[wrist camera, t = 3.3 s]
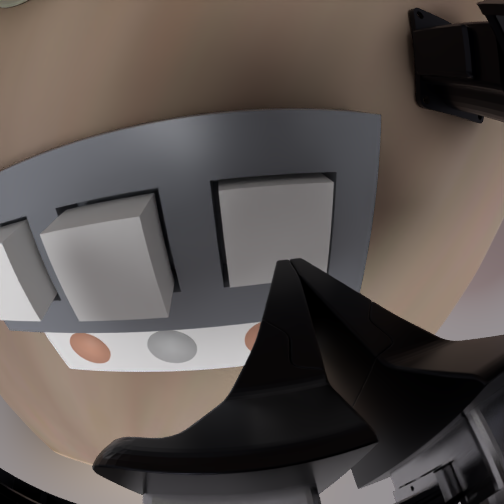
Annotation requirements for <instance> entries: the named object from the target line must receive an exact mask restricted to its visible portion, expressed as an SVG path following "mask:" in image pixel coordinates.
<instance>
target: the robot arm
mask: <svg viewBox="0 0 504 504" xmlns="http://www.w3.org/2000/svg"><path fill="white" fill-rule="evenodd" d="M477 5H478V6H479V8H480V10H481V12H482V14H483V15H485V16H486V18H487V20H488V21H485V22H468V23H457V24H451V23H449V22H448V21H446V20H444V19H442V18H439V17H437V16H435V15H433V14H431V13H429V12H426V11H424V10H422V9H420V8H414V9H411V10H410V20H411V27H412V35H413V45H414V57H415V75H416V101H417V104H418V105H419V106H420V107H422V108H426V109H430V110H435V111H439V112H443V113H446V114H450V115H454V116H457V117H461V118H464V119H467V120H470V121H473V122H477V123H482V122H483V119H484V117H488V118H492V119H495V120H498V121H502V122H504V0H484V1H482V2H479V3H477ZM417 14H418V15H419V17H418V16H417ZM424 97H425V103H424V100H423V98H424ZM371 302H372V301H371V300H370V299H368V298H367V297H365V296H363V295H362V294H360V293H358V292H357V291H355V290H354V289H352V288H350V287H349V286H347V285H345V284H344V283H342V282H340V281H339V280H337V279H336V278H334V277H332V276H331V275H329V274H327V273H326V272H324V271H322V270H321V269H319V268H317V267H316V266H314V265H312V264H311V263H309V262H307V261H306V260H304V259H302V258H295V259H290V260H288V259H286V260H278V261H277V262H276V266H275V270H274V274H273V278H272V282H271V286H270V290H269V294H268V297H267V301H266V305H265V309H264V313H263V317H262V321H261V324H260V328H259V331H258V334H257V337H256V340H255V343H254V345H253V347H252V350H251V352H250V354H249V356H248V358H247V360H246V362H245V365H244V367H243V369H242V371H241V373H240V375H239V377H238V378H237V380H236V382H235V384H234V386H233V388H232V390H231V391H230V393H229V395H228V396H227V397H226V399H225V400H224V401H223V402H222V403H221V404H219V405H218V406H217V407H215V408H214V409H213V410H212V411H210V412H209V413H208V414H206V415H205V416H204V417H202V418H201V419H200V420H198V421H197V422H196V423H194V424H193V425H192V426H190V427H189V428H187V429H186V430H184V431H183V432H181V433H179V434H176V435H173V436H169V437H164V438H142V437H122V438H119V439H116V440H114V441H113V442H112V443H110V444H109V445H108V446H107V447H106V448H105V449H103V450H102V452H101V453H100V454H99V455H98V456H97V458H96V460H95V462H94V463H93V466H92V467H93V470H94V471H95V472H96V473H97V474H99V475H100V476H103V477H104V478H106V479H108V480H110V481H112V482H114V483H117V484H118V485H121V486H123V487H125V488H127V489H129V490H132V491H134V492H137V493H139V494H141V495H143V504H321V501H320V497H319V494H320V493H321V492H323V491H324V490H325V489H326V488H328V487H329V486H330V485H331V484H333V483H334V482H335V481H337V480H338V479H339V478H340V477H341V476H342V475H344V474H345V473H346V472H347V471H348V470H350V469H351V470H352V473H353V476H354V478H355V482H356V484H357V487H358V489H359V488H362V487H365V486H367V485H370V484H373V483H375V482H378V481H381V480H383V479H385V478H388V477H390V476H391V479H392V481H393V484H394V487H395V491H393V494H394V497H395V500H396V503H395V504H458V503H459V502H461V504H504V335H499V336H493V337H486V338H480V339H471V340H463V341H450V340H445V339H442V338H440V337H438V336H436V335H434V334H432V333H430V332H428V331H426V330H424V329H422V328H420V327H418V326H416V325H414V324H412V323H410V322H408V321H406V320H404V319H402V318H400V317H399V316H397V315H395V314H393V313H391V312H390V311H388V310H386V309H385V308H383V307H381V306H380V305H378V304H376V303H375V302H372V303H371ZM0 504H76V503H73V502H70V501H67V500H64V499H62V498H59V497H57V496H54V495H52V494H49V493H47V492H44V491H42V490H40V489H38V488H36V487H34V486H32V485H30V484H28V483H26V482H24V481H22V480H20V479H18V478H16V477H14V476H13V475H11V474H10V473H8V472H6V471H4V470H3V469H1V468H0Z"/></svg>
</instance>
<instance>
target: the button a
mask: <svg viewBox="0 0 504 504" xmlns="http://www.w3.org/2000/svg"><path fill="white" fill-rule="evenodd" d="M57 293H58V292H57V290H56V288H55V286H54V284H53V282H52V280H51V278H50V276H49V273H48V271H47V269H46V267H45V264H44V262H43V260H42V257H41V255H40V252H39V250H38V247H37V245H36V242H35V239H34V237H33V234H32V231H31V228H30V226H29V223H28V220H23V221H20V222H16V223H12V224H9V225H6V226H2V227H0V320H9V321H41V320H42V319H43V317H44V315H45V313H46V312H47V310H48V308H49V306H50V305H51V303H52V301H53V300H54V298H55V296H56V295H57Z"/></svg>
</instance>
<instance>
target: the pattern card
mask: <svg viewBox="0 0 504 504" xmlns="http://www.w3.org/2000/svg"><path fill="white" fill-rule="evenodd" d="M260 324H261V322H255V323H246V324H238V325H228V326H219V327H208V328H196V329H184V330H169V331H151V332H127V333H51V332H44V333H45V334H46V336H47V337H48V339H49V340H50V342H51V343H52V345H53V346H54V348H55V349H56V350H57V352H58V353H59V355H60V356H61V357H62V359H63V360H64V361H65V363H66V364H67V365H68V367H69V368H70V369H81V370H96V371H121V372H162V371H188V370H204V369H217V368H228V367H238V366H244V365H245V362H246V360H247V358H248V356H249V354H250V352H251V350H252V347H253V345H254V343H255V340H256V337H257V334H258V331H259V328H260Z"/></svg>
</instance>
